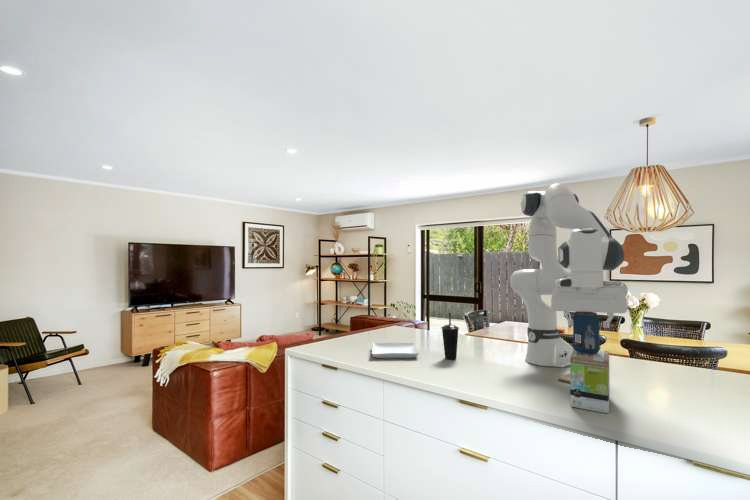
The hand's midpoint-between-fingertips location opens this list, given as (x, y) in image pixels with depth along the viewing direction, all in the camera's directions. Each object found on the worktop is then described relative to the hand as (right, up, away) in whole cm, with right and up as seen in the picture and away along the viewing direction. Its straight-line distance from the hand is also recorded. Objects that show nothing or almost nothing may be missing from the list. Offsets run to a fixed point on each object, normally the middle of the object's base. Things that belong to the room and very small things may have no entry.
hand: (588, 326), depth 114 cm
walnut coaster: (+8, -23, +19) cm, 31 cm away
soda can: (-1, -8, 0) cm, 8 cm away
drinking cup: (-31, -25, +52) cm, 66 cm away
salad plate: (-55, -26, +62) cm, 87 cm away
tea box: (0, -23, -1) cm, 23 cm away
